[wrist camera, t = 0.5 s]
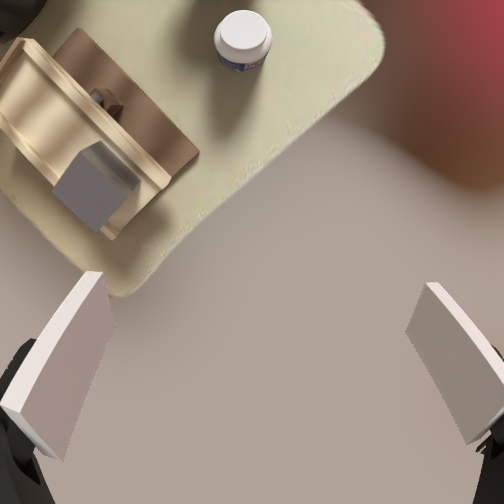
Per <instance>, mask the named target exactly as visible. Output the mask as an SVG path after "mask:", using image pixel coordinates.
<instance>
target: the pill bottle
mask: <svg viewBox="0 0 504 504" xmlns="http://www.w3.org/2000/svg"><path fill="white" fill-rule="evenodd" d="M272 38H273V37H272V32H271V29H270V27H269V25H268V24H267V23H266V22H265V20H264V19H263V18H262V16H260V15H259V14H257V13H255V12H253V11H248V10H239V11H235V12H232V13H230V14H229V15H227V16H226V17H225V18H224V19H223V21H222V22H221V23H220V24H219V25H218V27H217V28H216V30H215V34H214V43H215V47H216V50H217V53H218V56H219V58H220V60H221V62H222V63H223V64H224V65H225V66H226V67H227V68H229V69H230V70H233V71H236V72H248V71H252V70H254V69H256V68H257V67H259V66H260V65H261V64H262V63H263V61H264V60H265V58H266V56H267V54H268V51H269V49H270V47H271V44H272Z"/></svg>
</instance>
